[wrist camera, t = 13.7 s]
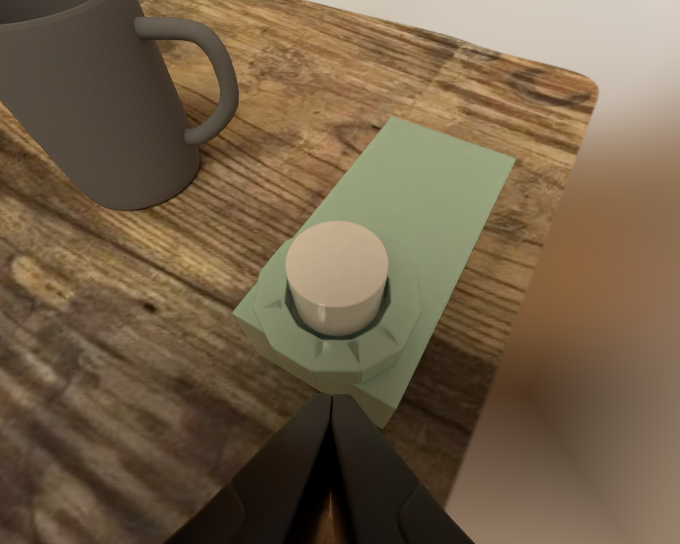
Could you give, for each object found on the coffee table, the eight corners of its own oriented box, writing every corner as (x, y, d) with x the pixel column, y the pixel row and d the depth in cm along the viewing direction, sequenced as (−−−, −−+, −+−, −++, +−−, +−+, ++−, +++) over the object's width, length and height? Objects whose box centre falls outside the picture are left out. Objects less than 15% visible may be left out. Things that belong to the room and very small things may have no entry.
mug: (61, 213, 26) (-126, 28, 15) (106, 131, 30) (-14, -52, 20) (251, 213, 25) (189, 27, 15) (266, 131, 30) (227, -54, 20)
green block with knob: (384, 176, 27) (395, 88, 21) (486, 216, 25) (530, 130, 19) (247, 363, 20) (205, 308, 14) (376, 444, 18) (392, 419, 12)
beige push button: (323, 245, 16) (320, 206, 14) (397, 280, 15) (406, 244, 13) (276, 309, 14) (263, 276, 12) (355, 353, 13) (357, 326, 11)
